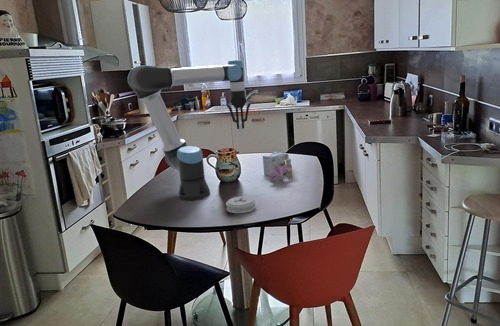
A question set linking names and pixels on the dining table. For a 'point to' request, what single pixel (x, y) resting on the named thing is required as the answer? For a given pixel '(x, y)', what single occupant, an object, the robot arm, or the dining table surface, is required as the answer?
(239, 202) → the lid
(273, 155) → the light bulb box
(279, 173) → the lily
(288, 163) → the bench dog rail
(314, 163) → the dining table surface
